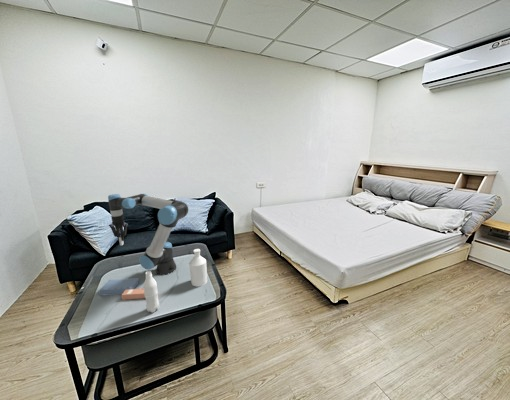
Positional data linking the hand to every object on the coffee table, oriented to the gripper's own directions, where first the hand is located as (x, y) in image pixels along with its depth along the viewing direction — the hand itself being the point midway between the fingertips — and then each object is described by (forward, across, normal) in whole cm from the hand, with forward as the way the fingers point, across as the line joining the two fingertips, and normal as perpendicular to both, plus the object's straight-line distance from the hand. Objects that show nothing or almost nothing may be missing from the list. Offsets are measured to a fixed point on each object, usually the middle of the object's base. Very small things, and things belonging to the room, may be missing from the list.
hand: (121, 244), depth 164 cm
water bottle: (+25, -36, +44) cm, 62 cm away
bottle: (+25, -59, +18) cm, 67 cm away
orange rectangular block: (+24, -23, +30) cm, 45 cm away
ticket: (+24, -5, +20) cm, 32 cm away
